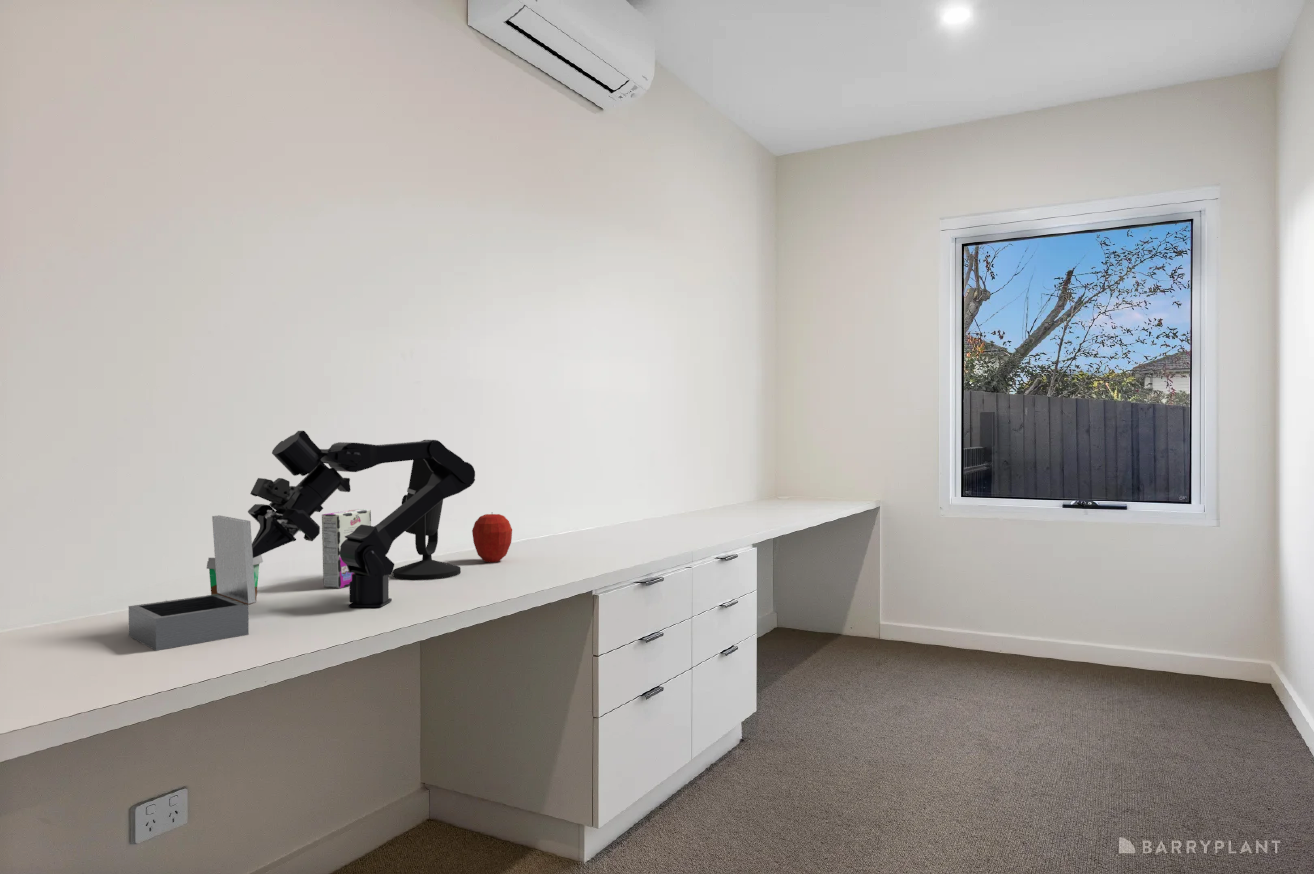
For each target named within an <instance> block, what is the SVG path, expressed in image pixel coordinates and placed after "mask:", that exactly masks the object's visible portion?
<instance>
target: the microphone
mask: <svg viewBox="0 0 1314 874" xmlns="http://www.w3.org/2000/svg"><path fill="white" fill-rule="evenodd" d="M432 473H433V472H432V471H431V470H430V469H429V468H428V466H427V464H426V462H425V461H424V460H423V459H418V460H412V465H411V471H410V476H409V483H408V487H407V489H406V492H407V494H404V496H402V499H401V505H402V504H403V503H405V502H406V501H407V500H408V499H410V498H411V497H412V496H413V495H415V494H416V493H417V492H418V491H420V490H421V489H422V488H423V487H425V486H426V485H427V484H428V482H429V479H430V477H431V475H432ZM443 503H444V499H443V500H442V501H441V502H439V503H438V504H437V505H436V506H435V507H433V508H432V509H431V510H430V511H429V512H427V513H426V514H425V515H424V516H423V517H421V518H420V519H419V520H418V521H417V522H415V523H414V524H413V525H412V526H411V527H409V528H408V529H407V530H406V531H405V533H408V534H410V535H415V537H414V539H415V540H414V541H415V542H414V543H415V550H416V552H417V554H418V556H422V557H421V558H422V559H421V560H419V561H418V560H417V561H415V562H412V563H409V564H405V565H402V566H400V567H396V568H393V571H392V577H393V578H394V579H399V580H408V581H428V580H429V581H430V580H441V579H447V578H453V577H457V576H458V575H460V574H461V569H462V568H461V566H458V565H457V564H456V565H455V564H451V563H449V562H447V563H446V562H443V561H438V560H434V559H432V555H433V554H434V553H435V552H436V550H437V547H438V542H439V541H438V540H439V526H440V520H441V516H442V515H441V514H442V509H443ZM426 537H427V538H426ZM426 541H427V544H426Z"/></svg>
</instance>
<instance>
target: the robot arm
mask: <svg viewBox="0 0 1314 874" xmlns="http://www.w3.org/2000/svg"><path fill="white" fill-rule="evenodd" d="M271 454H272V455H273V456H274V457H275V458H276V460H278V461H279V463H281V464H282V466H283V467H284V468H286V469H287V471H289V472H290V474H291V475H292V476H294V477H296V476H299V475H300V476H301V477H304V478H302V480H301V481H300V482H299V483H298V484H297V485H296V486H295V485H290V484H291V483H290V481H289V480H287V479H286V478H284V477H283V478H282V477H278V478H276V479H275V480H274V481H273V480H272V479H267V478H262V477H257V479H256V481H255V483H254V485H253V487H252V489H251V490H250V495H251V496H254V497H259V498H261V499H263V500H266V501H267V502H270V503H269V504H265V503H257V504H253V505H252V507H250V508H249V509H248V510H247V513H248V514H249V515H250V516H251V517H252V518H253V519H254V520H255V521H256V522H257V523H258V524H259V529H258V531H257V533H256V536H255V537H254V539H253V540H252V553H253V558H255V557H257V556H259V555H263V554H265V553H269V552H271V551H273V550H275V549H277V548H280V547H281V546H282V547H283V546H285V545H288V544H289V543H291V542H296V541H297V538H296V537H295V536H296V535H297V534H298V533H299V532H300V533H301V532H302V533H303V535H304V536H303V539H304V540H305V541H308V542H313V541H314V540H315V539H316V538H317V537H318V536H319V535H320V532H321V530H320V529H321V527H320V525H319V524H318V523H317V522H316V521H315V520H314V519H313V518H312V516H313V514H314V513H315V512H316V513H320V512H322V510H323V509H324V507H323V504H324V503H325V502H327V500H328V499H329V498H330V496H332V495H333V494H334V493H335V492H336V491H337V490H338V491H339V492H344V493H350V492H351V484H350V482H351V478H350V477H343V476H342V475H341V474H340V473H339V472H345V473H346V472H347V473H357V472H361V471H364V470H368V469H372V468H373V467H375V466H377V465H381V464H388V463H396V462H397V463H398V462H399V463H400V462H404V461H405V462H406V461H407V462H408V461H413V460H418V459H423V460H424V461H425V462H426V464H427V466H428V468H429V469H430V470H431V471H432V472H433V473H432V475H431V477H430V479H429V482H428V484H427V485H426V486H425V487H423V488H422V489H421V490H420V491H418V492H417V493H416V494H415V495H413V496H412V497H411V498H410V499H408V500H407V501H406V502H405V503H403V504H402V503H401V504H400V506H398V507H397V508H396V509H395V510H393V511H392V512H391V513H390V514H389V515H387V516H386V517H385V518H383V519H382V520H381V521H380V522H379V523H377V524H376V525H373V526H372V525H371V526H368V525H360V526H358V527H357V528H356V529H355V531H354V532H353V533H351V534H349V535H347V536H345V538H347V539H346V540H345V541H344V542H343V543H342V544H341V546H340V548H341V549H340V557H341V559H342V561H343V562H344V563H345V564H346V565H347V567H348V570H349V572H351V573H352V572H353V573H354V574H352V581H351V582H350V583H349V586H348V587H349V591H348V592H349V594H348V595H349V604H347V605H348V608H382V607H383V606H385V605H387V604H389V603H391V602H392V600H393V599H392V598H389V592H390V591H389V589H390V588H389V581H390V580H389V575H393V570H394V569H395V568H394V567H395V563H394V562H393V561H392V560H391V559H390V558H389V557H388V556H387V554H388V553H389V552H390V549H391V547H392V545H393V543H394V541H395V540H396V539H398V537H400V536H401V535H402V534H403V533H404V532H405V533H406V530H407V529H408V528H409V527H411V526H412V525H413V524H414V523H415V522H417V521H418V520H419V519H420V518H421V517H423V516H424V515H425V514H426V513H427V512H429V511H430V510H431V509H432V508H433V507H435V506H436V505H437V504H438V503H439V502H441V501H442V500H443V501H444V500H445V499H446V498H449V497H452V496H454V495H457V494H458V495H459V494H460V493H462V492H463V491H465V490H467V489H469V488H470V487H472V485H473V484H474V483H475V481H476V479H475V478H476V471H475V468H474V466H473V465H472V464H471V463H469V462H468V461H465V460H463V458H462V457H460V456H459V455H457V454H456V453H455V452H454V451H451V450H450V449H449V448H447V447H446V446H445V445H444V444H443V443H442V441H441V442H440V441H439V440H437V439H423V440H420V441H408V442H397V443H387V444H385V443H384V444H372V443H371V444H370V443H362V442H347V441H346V442H343V441H342V442H341V441H340V442H334V443H333V444H331V446H330V447H329V448H328V449H327V448H319V446H317V445H316V443H315V442H314V441H313V440H312V439H311V437H310V436H309V434H308V433H307V432H306V431H305V430H297V431H296V432H295V433H294V434H292V435H290V436H288V437H287V438H285V439H283V440H281V441H279V443H277V444H276V445H275V446H274V448H273V449H272V452H271ZM326 464H328V465H326ZM328 466H329V467H330V468H329V467H328Z"/></svg>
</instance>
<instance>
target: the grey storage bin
mask: <svg viewBox="0 0 1314 874" xmlns="http://www.w3.org/2000/svg"><path fill="white" fill-rule="evenodd" d="M249 626H250V624H249V605H247V604H244V603H241V602H238V601H236V600H233V599H230V598H227V597H224V596H221V595H219V594H214V595H211V594H209V595H208V594H207V595H202V596H193V597H186V598H179V599H178V598H177V599H173V600H172V599H170V600H163V601H157V602H151V603H143V604H133V605H128V637H130V638H132V639H134V640H136V641H137V642H140V643H141V644H143V645H145V646H147V647H148V648H151V649H152V650H154V651H156V652H157V651H162V650H167V649H174V648H179V647H184V646H191V645H196V644H202V643H207V642H212V641H219V640H225V639H230V638H236V637H242V636H247V635H249V629H250V627H249Z"/></svg>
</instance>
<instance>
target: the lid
mask: <svg viewBox="0 0 1314 874" xmlns="http://www.w3.org/2000/svg"><path fill="white" fill-rule="evenodd" d="M211 519H212V520H211V521H212V533H213V534H212V535H213V536H212V537H213V548H214V549H213V550H214V551H213V552H214V558H215V566H216V581H217V593H219V594H222V595H225V596H227V597H230V598H233V599H236V600H239V601H242V602H245V603H248V604H250V603H253V604H255V603H256V602H257V598H256V599H255V584H254V568H253V553H252V542H253V540H252V525H251V524H252V523H251V520H246V519H241V518H236V517H231V516H230V517H229V516H225V515H212V516H211ZM250 605H251V604H250Z"/></svg>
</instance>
